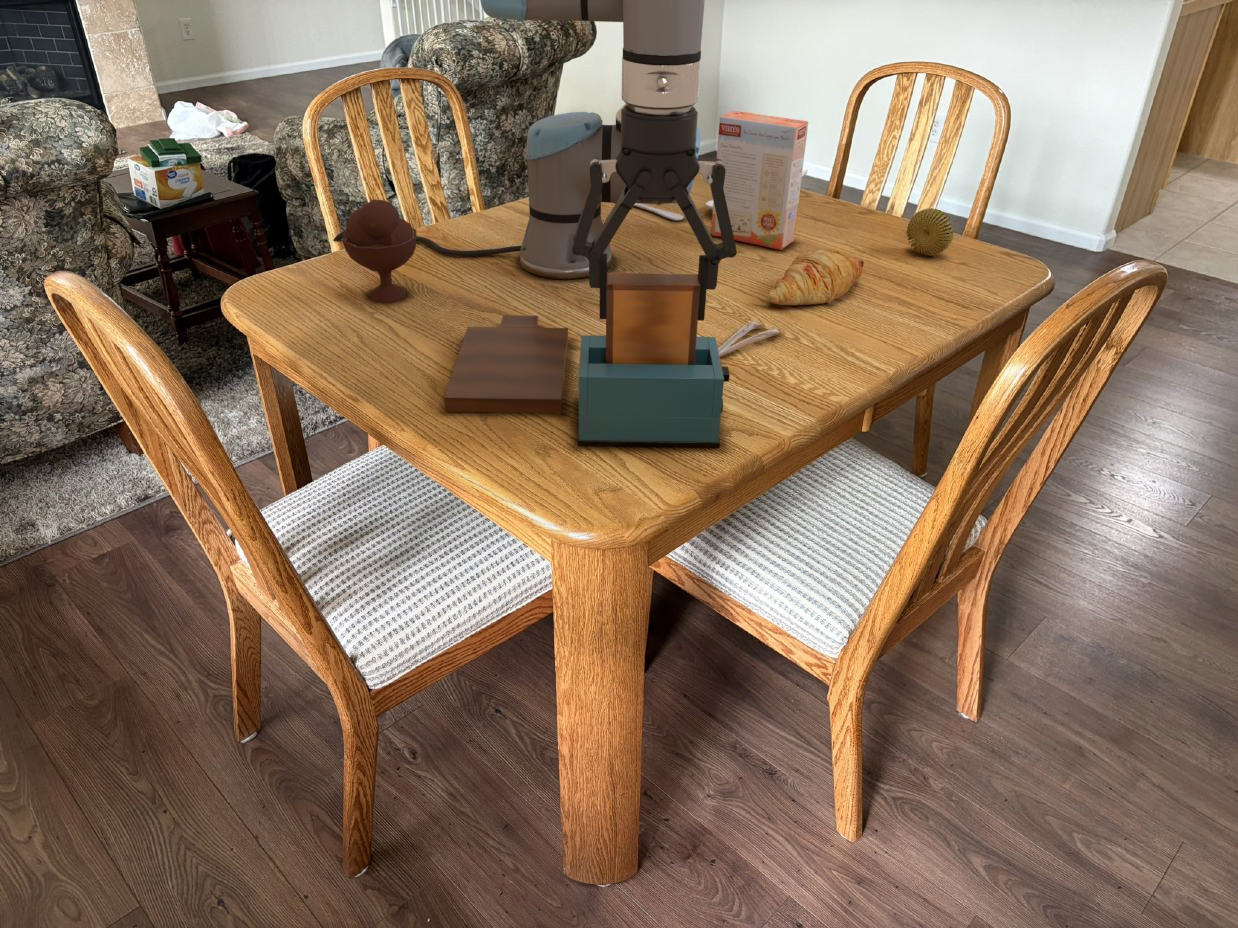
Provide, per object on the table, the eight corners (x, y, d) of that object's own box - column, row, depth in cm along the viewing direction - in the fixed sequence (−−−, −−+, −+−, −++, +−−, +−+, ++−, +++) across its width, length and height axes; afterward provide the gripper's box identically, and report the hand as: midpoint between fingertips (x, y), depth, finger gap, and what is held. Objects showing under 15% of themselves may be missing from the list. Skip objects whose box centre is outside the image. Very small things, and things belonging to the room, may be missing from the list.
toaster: (577, 446, 104) (576, 377, 99) (580, 400, 113) (579, 334, 108) (728, 448, 104) (735, 379, 99) (719, 401, 113) (725, 336, 108)
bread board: (560, 413, 110) (560, 399, 109) (445, 412, 110) (444, 397, 109) (569, 328, 130) (569, 315, 129) (472, 327, 130) (471, 314, 129)
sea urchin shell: (951, 257, 156) (962, 212, 152) (941, 263, 154) (952, 217, 149) (909, 246, 160) (918, 201, 156) (898, 251, 158) (907, 206, 154)
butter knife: (675, 220, 168) (686, 216, 170) (588, 190, 182) (598, 188, 184) (675, 222, 169) (686, 218, 170) (588, 193, 183) (598, 190, 184)
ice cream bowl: (437, 288, 141) (427, 193, 133) (394, 315, 133) (380, 214, 124) (382, 276, 145) (369, 182, 136) (336, 301, 136) (319, 203, 128)
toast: (605, 366, 103) (606, 283, 97) (606, 354, 105) (606, 272, 99) (694, 367, 103) (700, 285, 97) (692, 355, 105) (698, 273, 100)
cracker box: (794, 242, 161) (810, 120, 150) (781, 252, 157) (796, 127, 145) (724, 226, 167) (734, 108, 156) (709, 236, 163) (718, 115, 152)
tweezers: (754, 326, 131) (755, 314, 130) (781, 337, 129) (782, 324, 128) (676, 373, 121) (676, 360, 120) (703, 386, 119) (704, 372, 118)
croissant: (781, 336, 137) (805, 300, 130) (740, 288, 140) (762, 252, 133) (867, 298, 148) (894, 264, 142) (828, 255, 151) (852, 220, 144)
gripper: (540, 112, 85) (547, 328, 97) (781, 116, 85) (757, 330, 98) (546, 95, 91) (551, 299, 104) (770, 98, 91) (748, 302, 104)
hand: (651, 314), depth 101 cm, fingers closed on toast, 10 cm apart
